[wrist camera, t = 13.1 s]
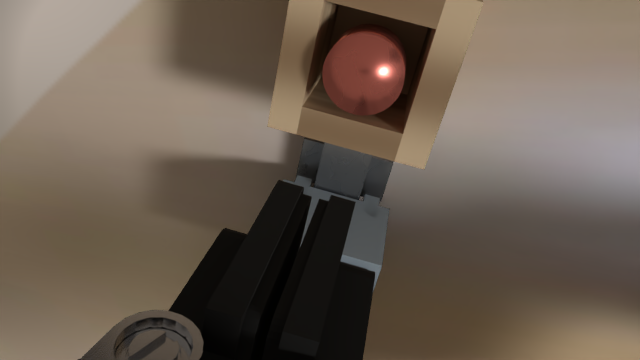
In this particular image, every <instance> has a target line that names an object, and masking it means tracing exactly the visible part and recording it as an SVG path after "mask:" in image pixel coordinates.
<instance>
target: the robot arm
mask: <svg viewBox="0 0 640 360" xmlns="http://www.w3.org/2000/svg"><path fill="white" fill-rule="evenodd" d="M303 192H304V187H302V186H298V185H295V184H291V183H288V182H284V181H281V180H279V181H278V182H277V184H276V185H275V187H274V189H273V191H272V192H271V194H270V196H269V198H268V199H267V201H266V203H265V205H264V206H263V208H262V210H261V212H260V213H259V215H258V217H257V219H256V220H255V222H254V224H253V225H252V227H251V229H250V231H249V232H248V234H244V233H241V232H237V231H234V230H230V229H227V228H225V229H223V230H222V231H221V233H220V234H219V235H218V237H217V238H216V240H215V241H214V243H213V245H212V246H211V248H210V249H209V251H208V252H207V254H206V255H205V257H204V258H203V260H202V261H201V263H200V264H199V266H198V267H197V269H196V270H195V272H194V273H193V275H192V276H191V278H190V279H189V281H188V282H187V284H186V285H185V287H184V288H183V290H182V291H181V293H180V294H179V296H178V297H177V299H176V300H175V302H174V303H173V305H172V306H171V308H170V309H169V311H163V310H151V311H145V312H139V313H136V314H134V315H131V316H129V317H127V318H125V319H123V320H122V321H121V322H119V323H118V324H116V325H115V326H114V327H113V328H112V329H111V330H110V331H109V332H107V333H106V334H105V335H104V336H103V337H102V338H101V339H100V340H99V341H98V342H97V343H96V344H95V345H94V346H93V347H92V348H91V349H90V350H89V351H88V352H87V353H86V354H85V355H84V356H83V357H82V358H81V359H78V360H363V353H364V347H365V340H366V333H367V327H368V320H369V314H370V307H371V301H372V294H373V287H374V281H375V272H374V271H370V270H367V269H363V268H360V267H357V266H353V265H350V264H346V263H343V262H340V261H341V257H342V253H343V250H344V246H345V242H346V238H347V234H348V230H349V226H350V223H351V219H352V215H353V211H354V207H355V203H356V202H355V201H351V200H348V199H344V198H341V197H337V196H334V195H331V196H330V199H329V201H326V200H323V199H319V201H318V203H317V206H316V208H315V211H314V213H313V216H312V218H311V221H310V224H309V226H308V229H307V231H306V234H305V236H304V239H303V241H302V237H303V233H304V229H305V225H306V220H307V216H308V212H309V208H310V204H311V199H312V196H309V195H305V194H303ZM301 241H302V244H301ZM300 246H301V247H300Z"/></svg>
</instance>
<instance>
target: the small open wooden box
mask: <svg viewBox="0 0 640 360" xmlns="http://www.w3.org/2000/svg"><path fill="white" fill-rule="evenodd" d="M483 3H484V2H483V0H289V4H288V10H287V16H286V22H285V28H284V33H283V39H282V45H281V51H280V57H279V62H278V68H277V74H276V80H275V86H274V92H273V97H272V103H271V109H270V115H269V121H268V126H267V127H271V128H275V129H278V130H282V131H285V132H289V133H293V134H296V135H300V136H304V137H307V138H311V139H315V140H318V141H322V142H326V143H329V144H333V145H336V146H340V147H344V148H347V149H351V150H355V151H358V152H362V153H366V154H369V155H373V156H377V157H380V158H384V159H387V160H391V161H395V162H398V163H402V164H406V165H409V166H413V167H417V168H420V169H425V166H426V163H427V160H428V157H429V155H430V152H431V149H432V146H433V143H434V141H435V138H436V135H437V132H438V129H439V126H440V124H441V121H442V118H443V115H444V112H445V110H446V107H447V104H448V101H449V98H450V96H451V93H452V90H453V87H454V84H455V82H456V79H457V76H458V73H459V70H460V68H461V65H462V62H463V59H464V56H465V54H466V51H467V48H468V45H469V42H470V39H471V37H472V34H473V31H474V28H475V25H476V23H477V20H478V17H479V14H480V11H481V9H482V6H483ZM367 23H371V24H378V25H381V26H384V27H386V28H388V29H389V30H391V31H392V32H393V33H395V34H396V35H397V37H398V38H399V39H400V41H401V42H402V44H403V46H404V49H405V52H406V59H407V63H406V71H405V79H404V84H403V88H402V91H401V93H400V95H399V97H398V98H397V99H396V101H395V102H394V103H393V104H392V105H391V106H390V107H388V108H387V109H385V110H384V111H382V112H379V113H377V114H373V115H364V116H362V115H355V114H351V113H348V112H346V111H344V110H342V109H341V108H339V107H338V106H337V105H336V104H335V103H334V102H333V101H332V100H331V99H330V97H329V96H328V94H327V92H326V90H325V88H324V84H323V78H322V70H323V65H324V61H325V59H326V57H327V55H328V53H329V52H330V50H331V49H332V47H333V46H334V45H335V43H336V42H337V40H338V39H339V38H340V37H341V35H342V34H343V33H345V32H346V31H347V30H348V29H350V28H352V27H354V26H357V25H360V24H367Z"/></svg>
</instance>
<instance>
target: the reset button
mask: <svg viewBox="0 0 640 360" xmlns="http://www.w3.org/2000/svg"><path fill="white" fill-rule="evenodd" d="M406 63H407V59H406V52H405V49H404V46H403V44H402V42H401V41H400V39H399V38H398V37H397V35H396V34H395V33H393V32H392V31H391V30H389V29H388V28H386V27H384V26H381V25H378V24H371V23H367V24H360V25H357V26H354V27H352V28H350V29H348V30H347V31H346V32H345V33H343V34H342V35H341V37H340V38H339V39H338V40H337V42H336V43H335V45H334V46H333V47H332V49H331V50H330V52H329V53H328V55H327V57H326V59H325V61H324V65H323V70H322V78H323V84H324V88H325V90H326V92H327V94H328V96H329V97H330V99H331V100H332V101H333V102H334V103H335V104H336V105H337V106H338V107H339V108H341V109H342V110H344V111H346V112H348V113H351V114H355V115H362V116H364V115H373V114H377V113H379V112H382V111H384V110H385V109H387V108H388V107H390V106H391V105H392V104H393V103H394V102H395V101H396V99H397V98H398V97H399V95H400V93H401V91H402V88H403V84H404V79H405V71H406Z"/></svg>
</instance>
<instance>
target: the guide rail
mask: <svg viewBox="0 0 640 360" xmlns="http://www.w3.org/2000/svg"><path fill="white" fill-rule="evenodd" d="M392 165H393V161H391V160H387V159H384V158H380V157H377V156H373V155H369V154H366V153H362V152H358V151H355V150H351V149H347V148H344V147H340V146H336V145H333V144H329V143H326V142H322V141H318V140H315V139H311V138H307V137H305V138H304V142H303V147H302V151H301V156H300V161H299V165H298V170H297V175H296V178H297V176H298V175H299V176H302V177H306V178H310V179H312V182H313V183H315V185H314V188H317V189H320V190H324V191H328V192H331V193H335V194H338V195H342V196H345V197H349V198H352V199H356V200H359V198H360V196H363V197H364V196H365V194H367V195H370V196H374V197H377V198H380V201H381V200H382V197H383V194H384V190H385V187H386V184H387V181H388V178H389V175H390V172H391V169H392Z"/></svg>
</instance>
